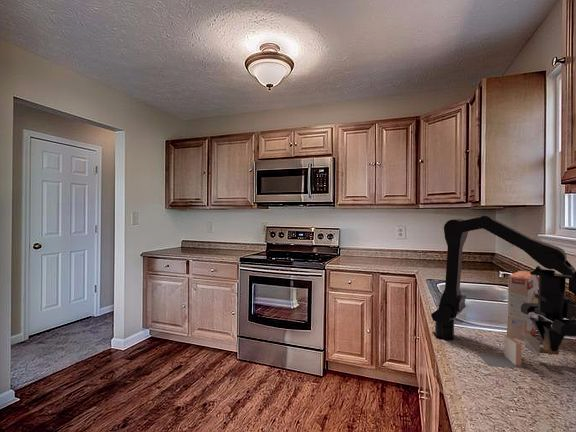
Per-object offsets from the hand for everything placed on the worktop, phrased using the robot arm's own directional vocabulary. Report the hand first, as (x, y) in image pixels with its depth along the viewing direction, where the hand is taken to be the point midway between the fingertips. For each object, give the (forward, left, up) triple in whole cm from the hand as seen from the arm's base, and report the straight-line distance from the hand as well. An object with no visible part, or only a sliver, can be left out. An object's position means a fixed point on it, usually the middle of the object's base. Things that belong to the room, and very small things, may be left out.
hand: (550, 348), depth 89 cm
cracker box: (-22, +4, -5) cm, 23 cm away
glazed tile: (0, -10, -4) cm, 10 cm away
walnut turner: (0, -2, -1) cm, 2 cm away
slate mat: (0, -13, -4) cm, 14 cm away
